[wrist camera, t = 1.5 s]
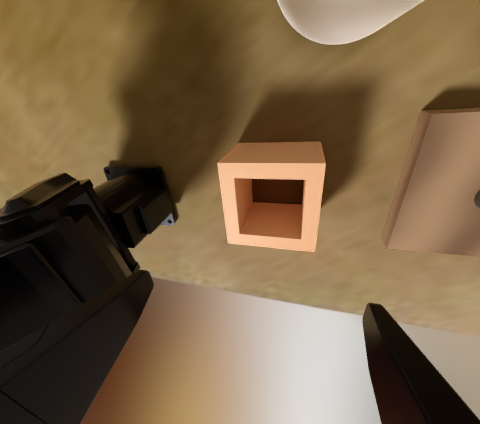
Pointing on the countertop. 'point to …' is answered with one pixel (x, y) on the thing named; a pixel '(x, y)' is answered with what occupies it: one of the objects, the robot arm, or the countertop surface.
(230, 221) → the collar
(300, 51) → the countertop surface
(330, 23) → the beverage can
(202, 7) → the countertop surface
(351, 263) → the countertop surface
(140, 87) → the countertop surface
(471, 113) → the post stand
